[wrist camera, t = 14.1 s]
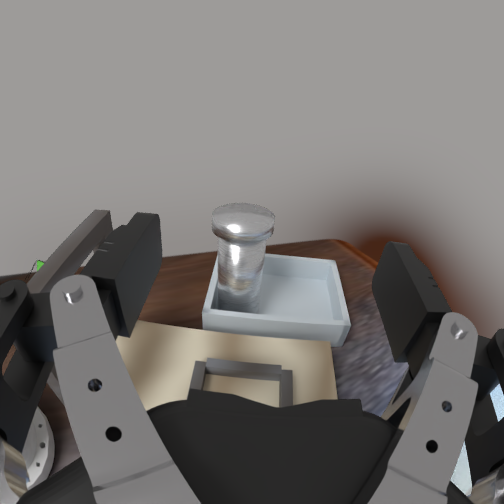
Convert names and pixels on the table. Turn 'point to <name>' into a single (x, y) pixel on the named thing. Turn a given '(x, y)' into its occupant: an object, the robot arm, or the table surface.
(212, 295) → the tray
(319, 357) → the dolly
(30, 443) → the mechanical component
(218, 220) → the pin
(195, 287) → the table surface
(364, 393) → the table surface
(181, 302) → the table surface
